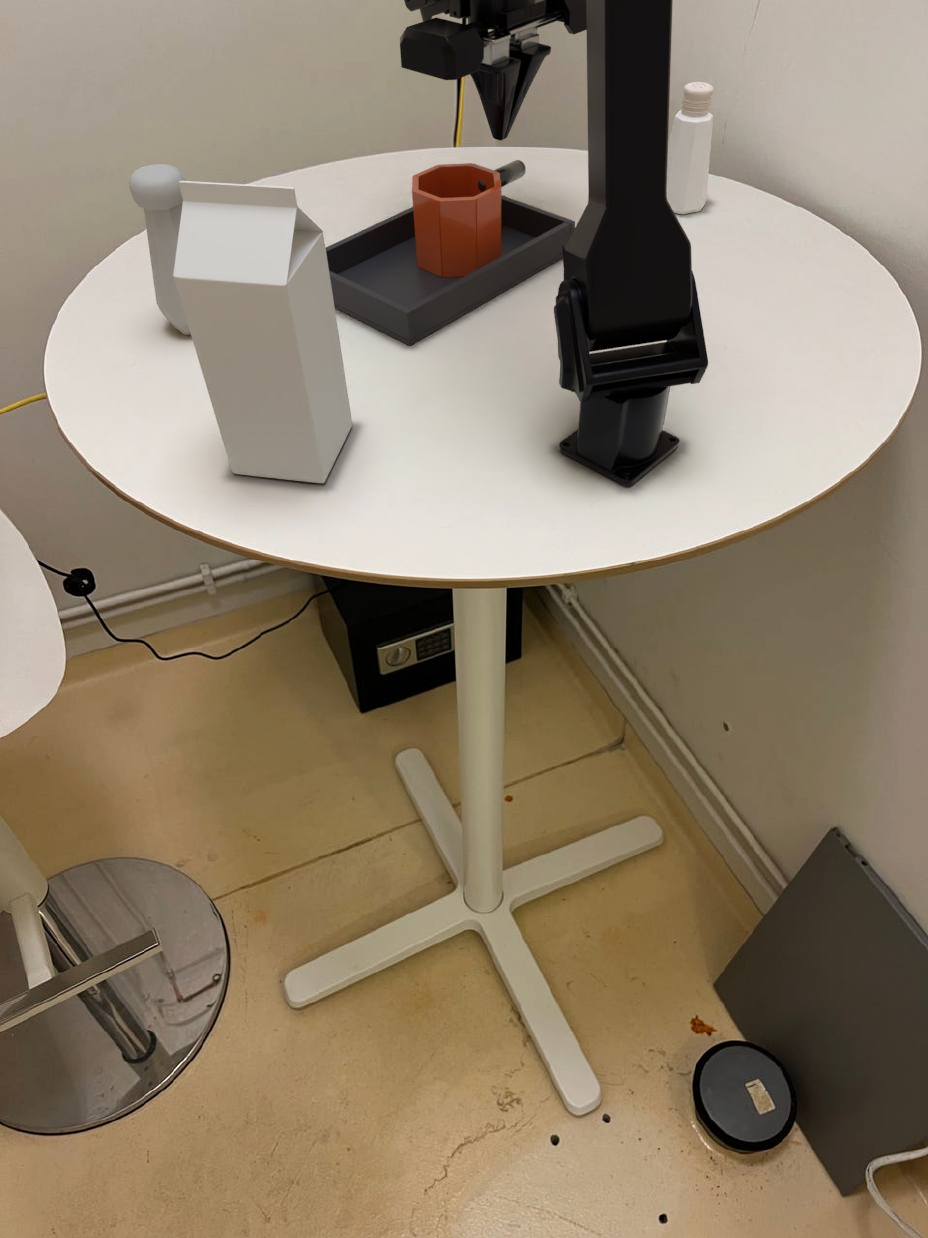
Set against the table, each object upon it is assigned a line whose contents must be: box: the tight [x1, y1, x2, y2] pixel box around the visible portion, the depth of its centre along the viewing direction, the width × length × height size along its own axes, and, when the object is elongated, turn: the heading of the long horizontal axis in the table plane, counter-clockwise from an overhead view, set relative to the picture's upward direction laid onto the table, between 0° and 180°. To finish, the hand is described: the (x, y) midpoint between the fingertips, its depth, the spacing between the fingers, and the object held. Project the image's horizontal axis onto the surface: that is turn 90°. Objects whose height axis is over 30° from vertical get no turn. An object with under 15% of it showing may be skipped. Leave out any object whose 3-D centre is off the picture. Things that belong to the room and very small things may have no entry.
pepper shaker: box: [667, 81, 714, 215], centre depth 85 cm, size 5×5×11 cm
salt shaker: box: [128, 163, 191, 336], centre depth 71 cm, size 6×6×13 cm
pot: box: [411, 159, 527, 277], centre depth 80 cm, size 13×8×7 cm, turn 137°
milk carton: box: [173, 180, 353, 484], centre depth 56 cm, size 7×7×19 cm
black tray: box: [325, 194, 576, 346], centre depth 79 cm, size 22×14×3 cm, turn 137°
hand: (499, 138), depth 77 cm, fingers closed
